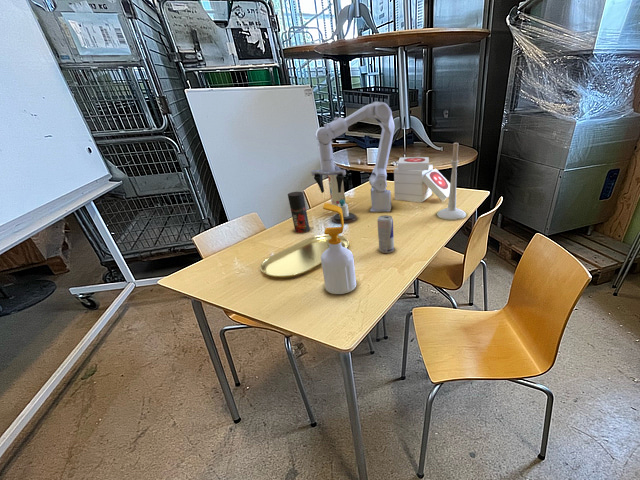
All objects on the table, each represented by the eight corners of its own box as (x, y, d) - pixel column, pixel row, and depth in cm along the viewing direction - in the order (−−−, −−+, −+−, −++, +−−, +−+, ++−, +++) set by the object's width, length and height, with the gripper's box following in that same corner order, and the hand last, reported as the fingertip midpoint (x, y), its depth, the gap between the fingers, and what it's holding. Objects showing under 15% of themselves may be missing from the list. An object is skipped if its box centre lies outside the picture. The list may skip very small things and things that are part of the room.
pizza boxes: (445, 206, 160) (447, 166, 151) (389, 199, 171) (387, 162, 161) (456, 195, 175) (459, 158, 165) (404, 190, 186) (404, 155, 176)
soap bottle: (327, 280, 103) (314, 200, 89) (356, 278, 103) (348, 198, 90) (324, 295, 95) (309, 211, 82) (356, 293, 96) (346, 209, 82)
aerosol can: (332, 203, 168) (326, 161, 157) (346, 203, 168) (341, 160, 158) (331, 207, 162) (325, 164, 152) (345, 207, 163) (340, 163, 152)
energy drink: (396, 248, 121) (395, 215, 115) (391, 254, 117) (389, 221, 111) (382, 246, 123) (380, 214, 116) (376, 252, 119) (374, 219, 112)
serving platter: (360, 244, 125) (359, 240, 124) (289, 285, 100) (288, 281, 99) (322, 235, 133) (322, 231, 133) (248, 271, 109) (247, 267, 108)
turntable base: (358, 215, 152) (358, 212, 152) (354, 223, 143) (354, 221, 143) (335, 215, 153) (334, 212, 153) (329, 223, 144) (329, 221, 143)
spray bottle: (336, 213, 152) (334, 196, 148) (356, 213, 151) (354, 196, 147) (331, 220, 144) (329, 203, 140) (352, 220, 144) (350, 203, 139)
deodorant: (311, 227, 141) (305, 191, 132) (307, 233, 136) (300, 195, 127) (298, 227, 141) (290, 191, 133) (292, 232, 136) (285, 195, 128)
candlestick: (463, 210, 155) (469, 139, 138) (467, 219, 144) (474, 144, 128) (436, 210, 155) (438, 139, 139) (438, 220, 145) (441, 144, 128)
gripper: (307, 161, 138) (312, 194, 145) (341, 161, 137) (345, 194, 144) (312, 158, 144) (317, 190, 151) (345, 157, 143) (348, 190, 150)
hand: (331, 192), depth 148 cm, fingers open, 7 cm apart
